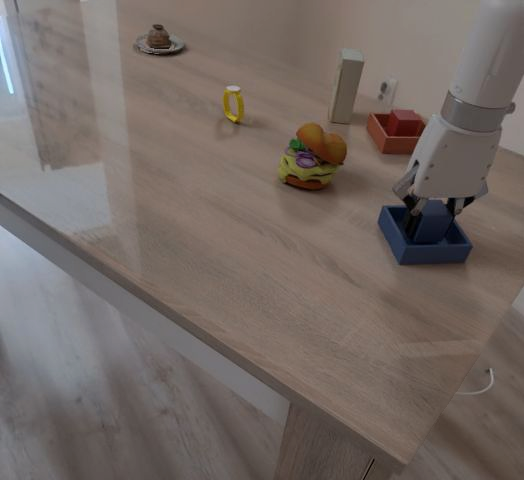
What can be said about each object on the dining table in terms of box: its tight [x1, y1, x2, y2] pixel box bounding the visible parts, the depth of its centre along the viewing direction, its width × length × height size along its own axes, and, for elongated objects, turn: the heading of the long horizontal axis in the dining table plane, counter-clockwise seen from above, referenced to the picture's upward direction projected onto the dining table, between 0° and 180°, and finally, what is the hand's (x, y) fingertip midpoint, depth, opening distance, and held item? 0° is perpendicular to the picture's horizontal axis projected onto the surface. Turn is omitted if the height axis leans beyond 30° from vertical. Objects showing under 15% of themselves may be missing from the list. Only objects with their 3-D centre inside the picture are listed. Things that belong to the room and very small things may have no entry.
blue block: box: [412, 199, 453, 243], centre depth 72 cm, size 4×4×4 cm
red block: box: [385, 109, 421, 137], centre depth 95 cm, size 4×4×4 cm
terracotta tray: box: [366, 112, 428, 154], centre depth 96 cm, size 11×11×3 cm
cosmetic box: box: [328, 46, 365, 125], centre depth 97 cm, size 6×4×12 cm
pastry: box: [134, 23, 185, 55], centre depth 117 cm, size 12×12×5 cm
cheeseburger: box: [277, 121, 348, 190], centre depth 82 cm, size 10×11×10 cm
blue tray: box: [377, 204, 474, 266], centre depth 74 cm, size 11×11×3 cm
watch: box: [222, 85, 245, 123], centre depth 94 cm, size 6×3×6 cm, turn 34°
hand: (423, 231), depth 73 cm, fingers closed on blue block, 4 cm apart
